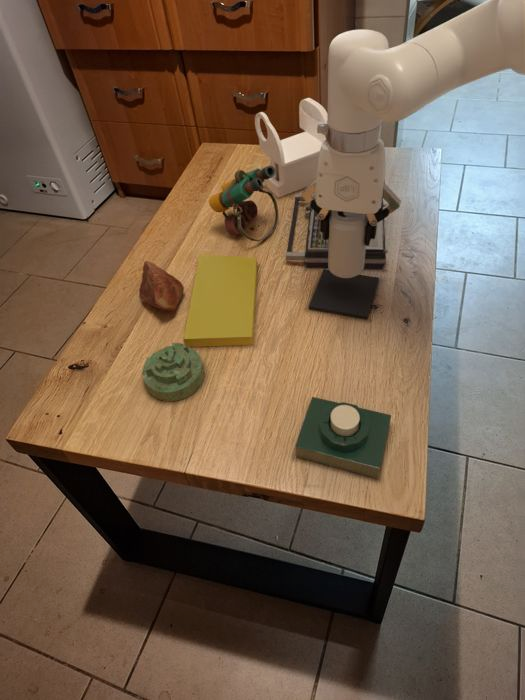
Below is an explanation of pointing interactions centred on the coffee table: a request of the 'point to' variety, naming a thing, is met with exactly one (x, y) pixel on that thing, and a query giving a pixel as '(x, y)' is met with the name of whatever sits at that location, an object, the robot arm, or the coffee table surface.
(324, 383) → the coffee table surface
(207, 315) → the flat olive board
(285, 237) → the coffee table surface
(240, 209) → the binoculars
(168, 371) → the decorative artifact
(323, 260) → the radio
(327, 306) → the coaster
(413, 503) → the coffee table surface
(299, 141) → the tape dispenser
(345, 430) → the cylinder
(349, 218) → the beverage can
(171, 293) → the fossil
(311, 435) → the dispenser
